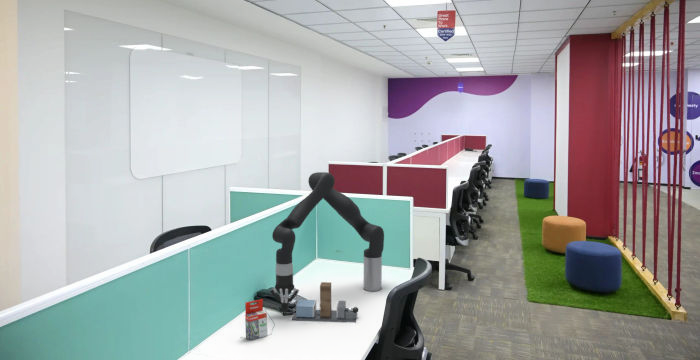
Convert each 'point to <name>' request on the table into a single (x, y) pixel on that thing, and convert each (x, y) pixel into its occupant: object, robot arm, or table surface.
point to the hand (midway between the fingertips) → (285, 310)
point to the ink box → (255, 320)
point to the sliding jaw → (306, 308)
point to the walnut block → (325, 299)
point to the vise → (333, 314)
